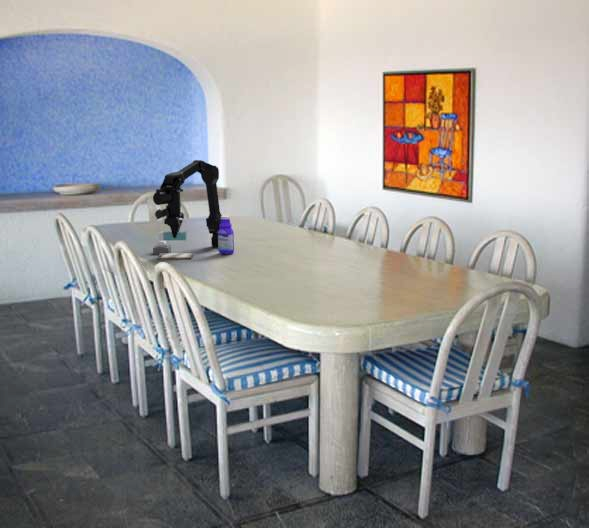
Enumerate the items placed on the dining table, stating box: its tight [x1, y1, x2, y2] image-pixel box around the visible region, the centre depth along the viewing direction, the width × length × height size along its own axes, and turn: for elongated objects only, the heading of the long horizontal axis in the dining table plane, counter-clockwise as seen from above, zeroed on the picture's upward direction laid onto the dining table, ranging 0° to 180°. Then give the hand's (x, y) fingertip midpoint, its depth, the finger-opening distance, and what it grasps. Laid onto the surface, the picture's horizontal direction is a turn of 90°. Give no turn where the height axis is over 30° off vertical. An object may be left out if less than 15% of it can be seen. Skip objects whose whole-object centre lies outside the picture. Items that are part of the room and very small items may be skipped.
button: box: [156, 240, 167, 247], centre depth 357 cm, size 4×4×3 cm
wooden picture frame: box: [156, 252, 195, 260], centre depth 347 cm, size 15×11×1 cm
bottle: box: [217, 215, 235, 255], centre depth 353 cm, size 7×6×17 cm
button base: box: [152, 244, 172, 255], centre depth 357 cm, size 7×7×3 cm
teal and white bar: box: [158, 231, 188, 241], centre depth 346 cm, size 12×4×4 cm, turn 89°
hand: (175, 237), depth 346 cm, fingers closed on teal and white bar, 3 cm apart
